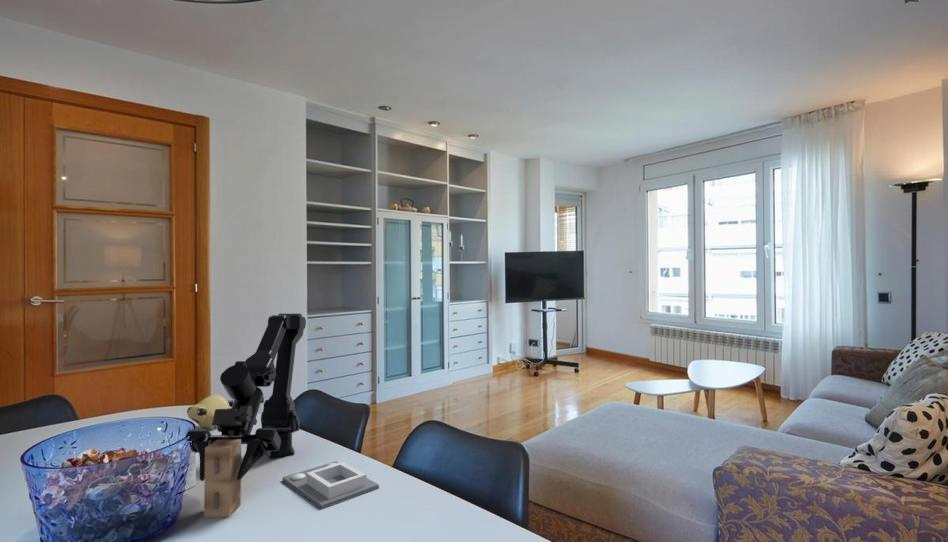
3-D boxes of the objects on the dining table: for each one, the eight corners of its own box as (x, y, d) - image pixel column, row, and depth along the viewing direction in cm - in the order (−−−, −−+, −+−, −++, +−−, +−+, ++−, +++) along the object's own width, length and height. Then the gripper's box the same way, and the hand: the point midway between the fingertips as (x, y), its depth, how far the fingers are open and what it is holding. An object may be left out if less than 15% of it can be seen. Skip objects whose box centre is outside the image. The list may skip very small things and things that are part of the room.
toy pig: (181, 431, 149) (181, 398, 149) (217, 421, 159) (217, 390, 160) (200, 436, 144) (200, 401, 145) (235, 425, 155) (235, 393, 155)
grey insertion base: (282, 480, 111) (282, 466, 111) (336, 464, 121) (336, 451, 121) (321, 509, 97) (322, 493, 97) (378, 488, 107) (378, 473, 107)
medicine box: (196, 485, 109) (196, 448, 109) (179, 494, 104) (180, 455, 105) (170, 482, 111) (170, 445, 111) (152, 490, 106) (153, 452, 107)
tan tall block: (216, 506, 99) (217, 439, 99) (240, 505, 99) (241, 439, 99) (202, 519, 93) (202, 449, 93) (227, 519, 93) (228, 448, 94)
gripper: (188, 392, 100) (155, 463, 89) (276, 391, 101) (254, 461, 90) (207, 418, 108) (179, 487, 97) (288, 416, 109) (270, 484, 98)
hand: (219, 479), depth 95 cm, fingers open, 7 cm apart
